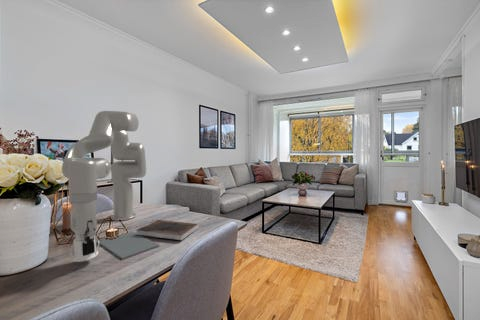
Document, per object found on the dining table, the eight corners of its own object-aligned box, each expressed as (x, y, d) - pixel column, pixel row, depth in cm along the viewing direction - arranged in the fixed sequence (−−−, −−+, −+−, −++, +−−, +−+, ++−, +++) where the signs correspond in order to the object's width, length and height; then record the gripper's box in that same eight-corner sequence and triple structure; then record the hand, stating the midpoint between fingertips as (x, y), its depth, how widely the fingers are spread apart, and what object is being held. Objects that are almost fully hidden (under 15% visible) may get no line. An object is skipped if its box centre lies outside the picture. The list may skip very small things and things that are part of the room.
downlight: (102, 249, 78) (100, 222, 78) (97, 259, 72) (94, 229, 71) (75, 254, 76) (72, 226, 75) (67, 264, 69) (64, 233, 68)
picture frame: (136, 235, 96) (181, 241, 91) (136, 229, 96) (181, 235, 91) (158, 224, 112) (198, 228, 107) (158, 219, 112) (198, 223, 107)
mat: (97, 242, 89) (97, 241, 89) (132, 233, 100) (132, 231, 100) (122, 259, 76) (122, 258, 76) (159, 246, 87) (159, 244, 87)
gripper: (61, 195, 75) (63, 247, 76) (78, 204, 64) (80, 264, 65) (87, 192, 81) (88, 240, 82) (106, 199, 70) (108, 254, 71)
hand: (85, 250), depth 74 cm, fingers closed on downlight, 5 cm apart
